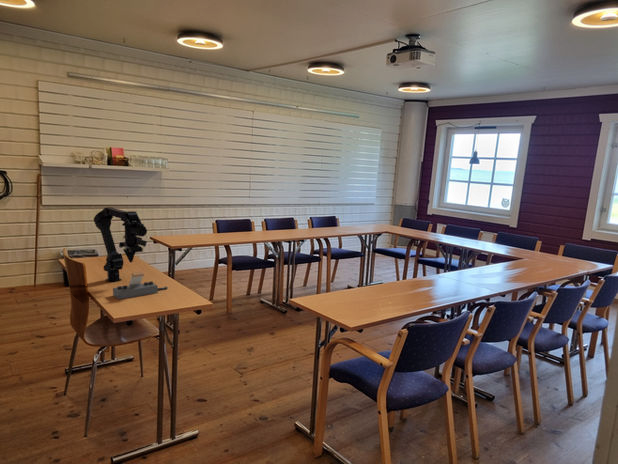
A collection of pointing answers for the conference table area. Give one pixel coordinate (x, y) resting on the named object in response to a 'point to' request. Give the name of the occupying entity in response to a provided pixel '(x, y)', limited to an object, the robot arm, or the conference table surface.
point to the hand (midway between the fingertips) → (131, 262)
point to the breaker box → (136, 290)
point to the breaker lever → (136, 278)
